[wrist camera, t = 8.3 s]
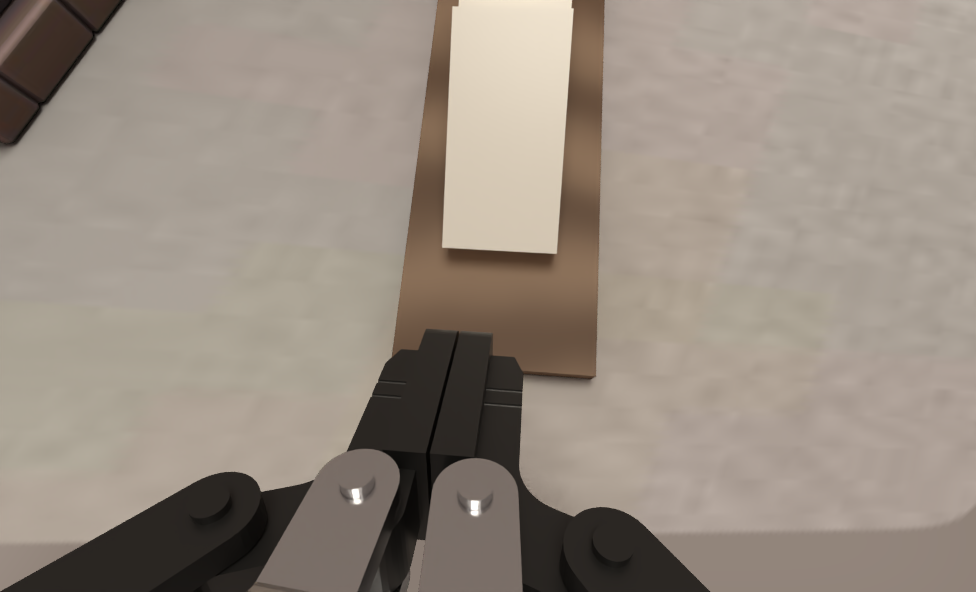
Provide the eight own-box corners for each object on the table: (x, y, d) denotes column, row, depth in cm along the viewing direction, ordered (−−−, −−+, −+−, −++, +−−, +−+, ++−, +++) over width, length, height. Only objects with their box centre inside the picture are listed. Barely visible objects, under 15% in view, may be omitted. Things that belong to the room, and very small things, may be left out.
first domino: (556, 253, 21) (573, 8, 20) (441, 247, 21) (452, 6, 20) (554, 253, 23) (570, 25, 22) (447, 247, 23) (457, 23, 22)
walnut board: (591, 378, 22) (595, 376, 21) (397, 364, 23) (391, 361, 22) (603, -92, 29) (607, -113, 28) (455, -92, 30) (452, -113, 29)
